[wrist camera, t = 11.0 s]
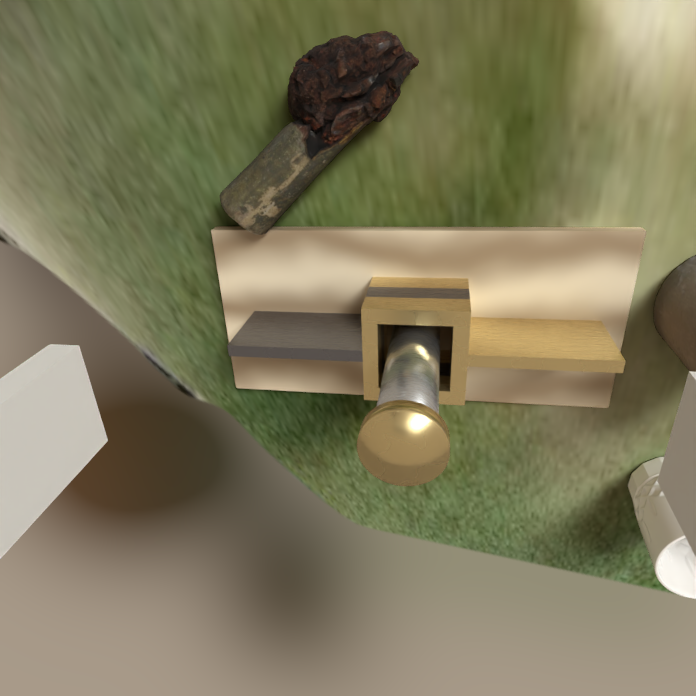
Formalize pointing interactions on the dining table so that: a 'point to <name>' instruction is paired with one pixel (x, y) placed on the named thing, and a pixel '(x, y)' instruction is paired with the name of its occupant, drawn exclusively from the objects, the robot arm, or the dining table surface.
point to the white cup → (662, 531)
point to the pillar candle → (679, 312)
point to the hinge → (429, 310)
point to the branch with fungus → (319, 122)
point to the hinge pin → (407, 412)
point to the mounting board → (432, 262)
